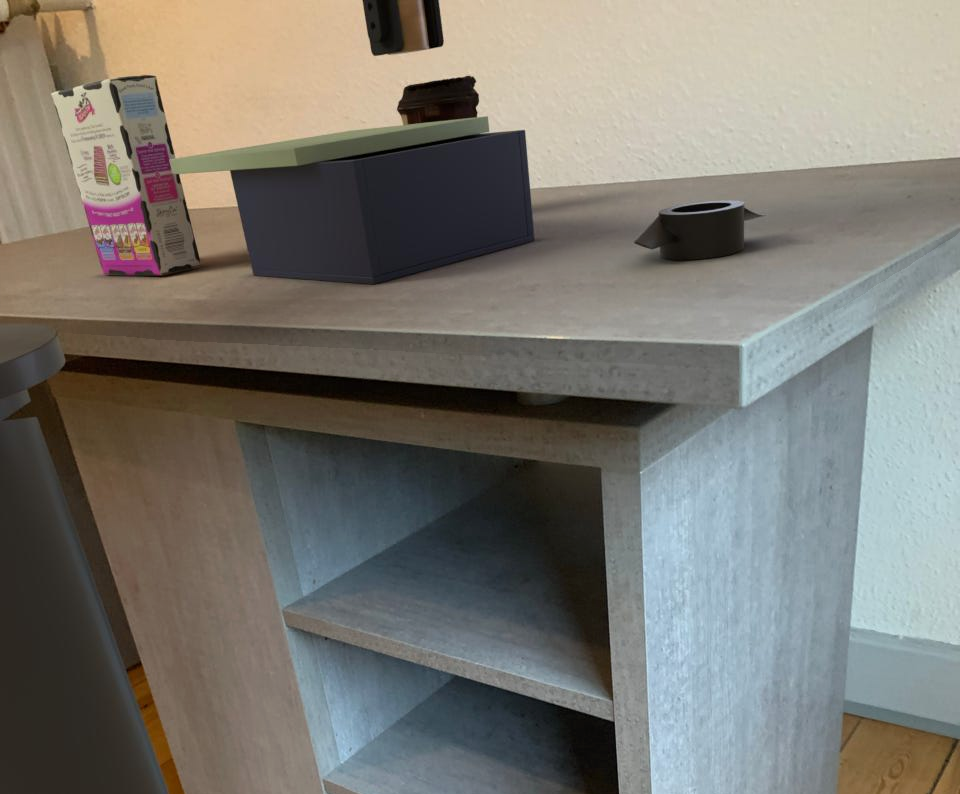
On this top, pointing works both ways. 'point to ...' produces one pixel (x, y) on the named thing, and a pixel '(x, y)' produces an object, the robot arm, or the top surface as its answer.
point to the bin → (387, 209)
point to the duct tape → (698, 230)
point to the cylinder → (413, 26)
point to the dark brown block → (439, 101)
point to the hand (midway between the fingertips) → (407, 48)
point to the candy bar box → (127, 176)
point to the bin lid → (329, 146)
